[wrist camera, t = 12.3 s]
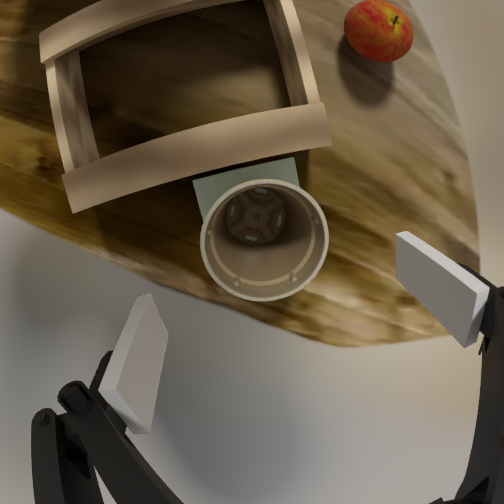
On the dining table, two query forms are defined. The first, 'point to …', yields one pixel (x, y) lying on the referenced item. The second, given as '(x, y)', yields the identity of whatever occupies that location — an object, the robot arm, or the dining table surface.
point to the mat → (220, 183)
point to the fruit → (378, 30)
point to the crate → (184, 142)
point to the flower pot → (264, 240)
